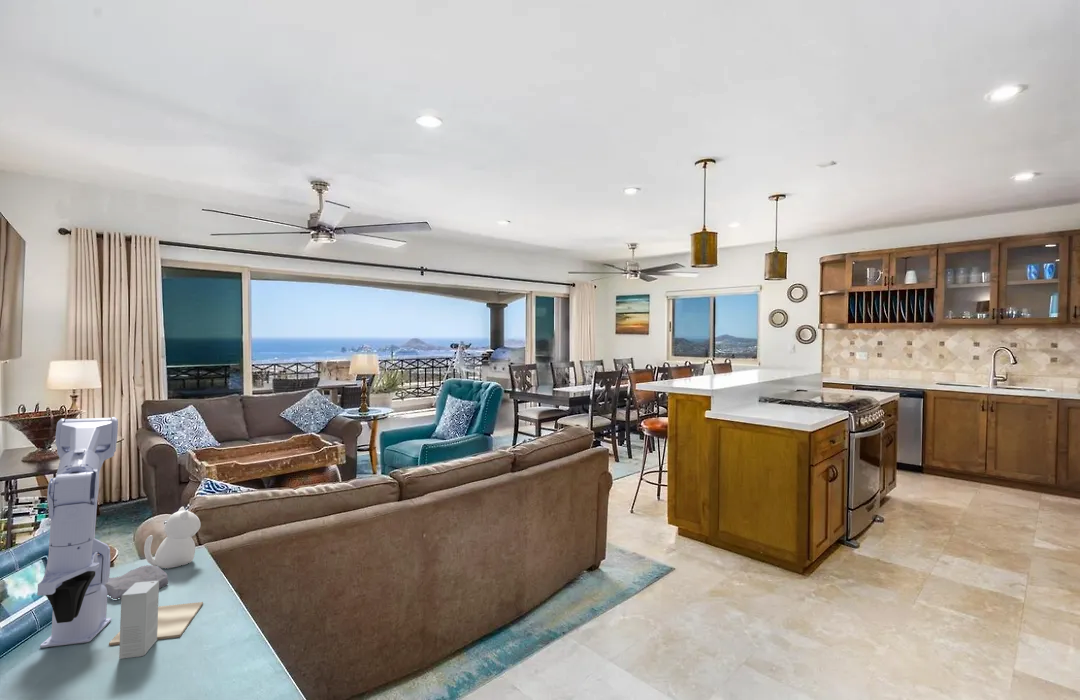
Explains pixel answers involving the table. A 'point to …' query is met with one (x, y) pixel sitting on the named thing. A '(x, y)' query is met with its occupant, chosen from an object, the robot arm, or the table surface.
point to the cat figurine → (175, 541)
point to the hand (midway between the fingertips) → (67, 619)
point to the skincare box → (139, 619)
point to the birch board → (171, 620)
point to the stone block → (135, 580)
